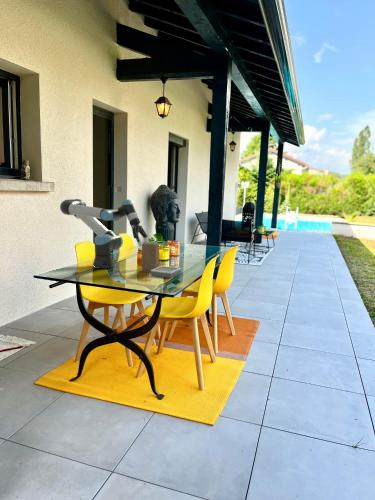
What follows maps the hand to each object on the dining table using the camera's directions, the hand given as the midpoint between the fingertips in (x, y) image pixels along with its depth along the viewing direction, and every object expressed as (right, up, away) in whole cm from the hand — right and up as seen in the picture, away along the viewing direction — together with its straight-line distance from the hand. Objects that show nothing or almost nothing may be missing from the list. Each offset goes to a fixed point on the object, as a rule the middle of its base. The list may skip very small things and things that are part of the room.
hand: (144, 245), depth 275 cm
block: (+5, -18, -7) cm, 20 cm away
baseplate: (+16, -20, -18) cm, 31 cm away
